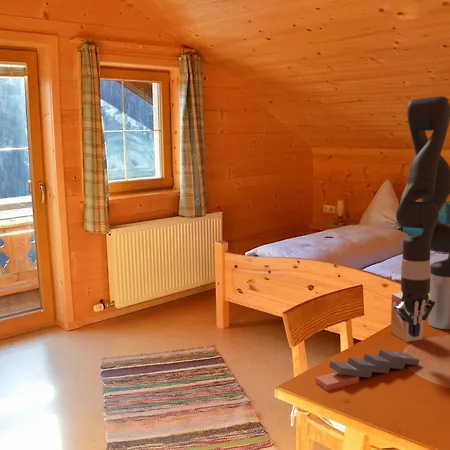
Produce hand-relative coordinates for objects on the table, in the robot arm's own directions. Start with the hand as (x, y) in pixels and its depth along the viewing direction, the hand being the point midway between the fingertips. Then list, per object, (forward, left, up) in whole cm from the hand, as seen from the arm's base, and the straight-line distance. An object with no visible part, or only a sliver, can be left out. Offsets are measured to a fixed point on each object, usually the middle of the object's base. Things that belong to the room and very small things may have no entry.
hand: (414, 335), depth 158 cm
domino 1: (+11, -18, -7) cm, 22 cm away
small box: (-19, +2, -8) cm, 21 cm away
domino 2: (+8, -14, -7) cm, 18 cm away
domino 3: (+5, -9, -7) cm, 13 cm away
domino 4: (+3, -5, -7) cm, 9 cm away
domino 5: (0, 0, -7) cm, 7 cm away
